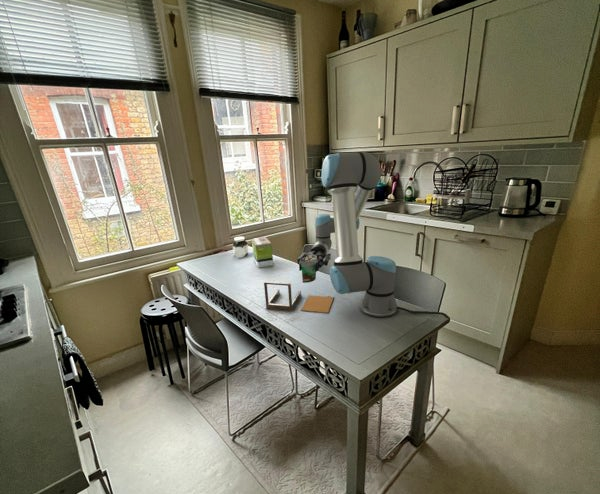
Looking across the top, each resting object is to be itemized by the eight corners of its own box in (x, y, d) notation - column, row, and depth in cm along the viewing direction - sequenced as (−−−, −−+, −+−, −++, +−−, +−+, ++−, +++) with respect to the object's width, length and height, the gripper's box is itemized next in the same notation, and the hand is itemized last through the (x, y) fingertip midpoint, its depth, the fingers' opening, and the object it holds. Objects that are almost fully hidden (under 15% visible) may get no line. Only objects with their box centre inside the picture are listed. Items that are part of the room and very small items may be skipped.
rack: (301, 295, 154) (300, 270, 148) (291, 311, 139) (290, 284, 134) (277, 293, 157) (275, 269, 151) (266, 308, 143) (263, 282, 137)
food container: (316, 284, 134) (315, 262, 130) (301, 284, 135) (301, 262, 131) (320, 273, 145) (319, 253, 141) (306, 273, 146) (306, 252, 142)
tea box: (253, 260, 205) (251, 238, 199) (268, 258, 208) (266, 236, 201) (257, 268, 192) (255, 244, 186) (273, 265, 194) (271, 242, 188)
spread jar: (244, 251, 223) (242, 235, 219) (253, 255, 215) (251, 238, 211) (229, 255, 217) (227, 239, 212) (238, 259, 209) (235, 242, 204)
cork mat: (333, 298, 150) (333, 297, 149) (327, 313, 136) (327, 312, 136) (309, 296, 153) (309, 295, 152) (301, 310, 139) (301, 310, 139)
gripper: (338, 259, 152) (330, 277, 132) (300, 257, 157) (286, 275, 137) (339, 244, 149) (330, 260, 129) (299, 243, 154) (285, 258, 134)
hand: (308, 268), depth 133 cm, fingers closed on food container, 6 cm apart
